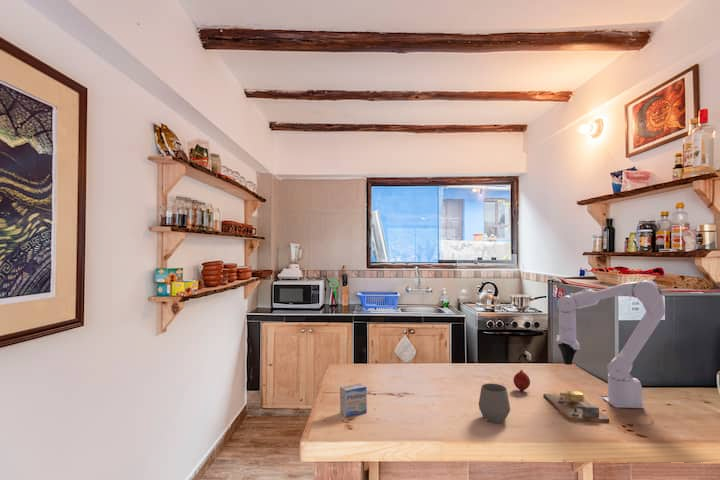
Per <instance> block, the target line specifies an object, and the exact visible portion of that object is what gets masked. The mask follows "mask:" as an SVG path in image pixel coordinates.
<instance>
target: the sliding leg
mask: <svg viewBox="0 0 720 480" xmlns="http://www.w3.org/2000/svg"><path fill="white" fill-rule="evenodd" d="M559 394H560V399H561V400H562V395H567V399H569V400H570V401H571V402H584V400H585V399H584V396H585V395H584V394H583V393H582V392H581V391H579V390H578V391H575V390H573V391H572V390H571V391H570V390H568V391H567V392H560V393H559Z"/></svg>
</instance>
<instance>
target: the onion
mask: <svg viewBox="0 0 720 480" xmlns="http://www.w3.org/2000/svg"><path fill="white" fill-rule="evenodd" d="M513 384H514V386H515V387H516V388H517V389H518V390H519V391H521V392H524V391H526V390H527V389H529V387H530V385H531V380H530V377H529V375H528V374H527V373H525V371H524V369H520V370H519V371H518V372H517V373H516V374H515V375H514V376H513Z"/></svg>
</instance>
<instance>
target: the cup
mask: <svg viewBox="0 0 720 480" xmlns="http://www.w3.org/2000/svg"><path fill="white" fill-rule="evenodd" d="M508 394H509V393H508V389H507V387H506V386H504V385H502V384H499V383H498V384H497V383H493V382H491V383H484V384H482V385H481V389H480V395H479V400H478V408H479V411H480V413H481V415H482V417H483V418H484V419H485V420H486V421H488V422H490V423H493V424H501V423H504V422H505V421H506V419H507V418H508V415H509V413H510V411H511V405H510V401H509V395H508Z"/></svg>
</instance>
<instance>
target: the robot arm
mask: <svg viewBox="0 0 720 480" xmlns="http://www.w3.org/2000/svg"><path fill="white" fill-rule="evenodd" d="M622 295H623V296H628V297H634V296H635V297H636V299H637V300H639V301H640V302H641V303H642V306H643V308H644V309H645V313H644V315H643V316H642V317H641V319H640V321H639V322H638V324H637V326H636V327H635V329H634V330H633V332H632V333H631V335H630V336H629V338H628V340H627V341H626V343H625V344H624V346H623V347H622V349H621V350H620V352H619V353H618V355H615V356H614V357H613V358H612V359H611V361H610V362H609V363H608V364H607V366H606V370H607V371H606V372H607V373H608V374H607V391H608V392H607V396H603V397H602V400H604V401H605V402H607V403H608V404H610V405H611V406H613V407H614V408H623V409H624V408H627V409H629V408H631V409H632V408H633V409H644V408H645V406H644V405H643V386H642V383H641V381H640V380H639V379H638V378H636V377H633V376H632V374H631V373H630V372H631V371H632V370H633V364H634V361H635V360H636V358H637V357H638V355H639V354H640V352H641V350H642V349H643V348H644V346H645V345H646V343H647V341H648V340H649V338H650V337H651V335H652V333H653V332H654V330H655V329H656V328H657V327H658V325H659V323H660V322H661V320H662V319H663V317H664V316H665V313H666V308H665V302H664V296H663V295H664V294H663V291H662V290H661V288H660V286H659V285H658V283H657V282H656V281H654V280H652V279H643V280H641V281H639V280H637V281H630V282H625V283H620V284H617V285H614V286H610V287H607V288H604V289H600V290H593V289H592V288H590V289H588V288H583V289H582V290H581V291H578V292H574V293H573V292H570V293H569V294H568V295H563V296H561V297H560V298H558V300H557V302H556V306H557V308H558V334H557V335H556V338H555V341H556V342H558V344H557V347H559V351H560V352H561V356H562V359H563V363H564V364H565V365H566V366H567V365H570V366H571V365H573V361H574V356H575V354H576V353H577V351H578V350H579V351H580V350H581V344H580V343H579V342H578V340H577V315H576V309H579V310H580V309H584V308H588V307H591V306H596V305H598V303H599V302H600V300H605V299H610V298H614V297H618V296H622Z"/></svg>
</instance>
